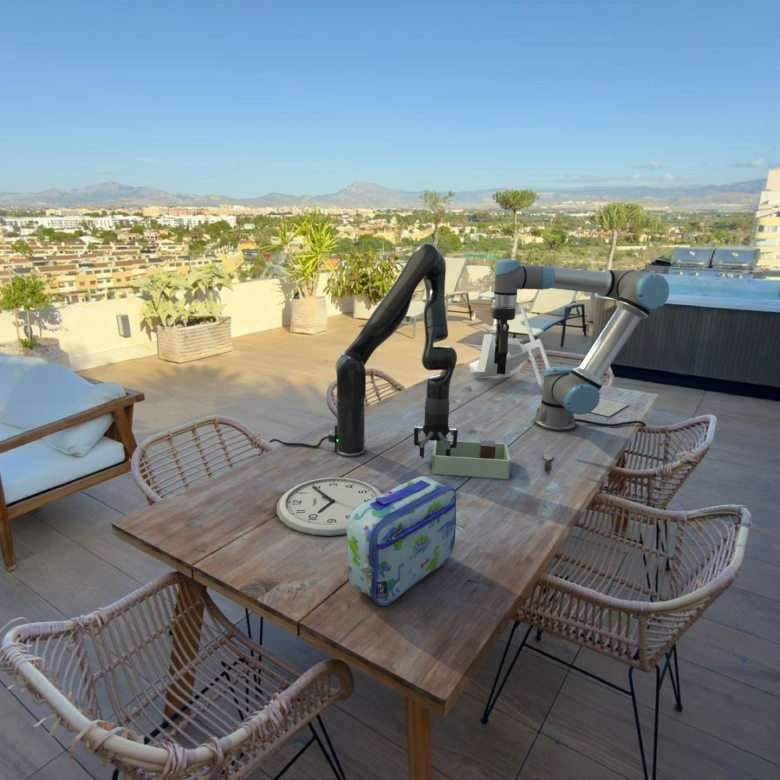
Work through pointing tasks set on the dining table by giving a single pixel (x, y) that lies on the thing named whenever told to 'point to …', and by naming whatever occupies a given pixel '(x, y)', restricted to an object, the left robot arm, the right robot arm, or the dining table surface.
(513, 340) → the white plastic object
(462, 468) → the tote
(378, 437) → the dining table surface
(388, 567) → the lunch box
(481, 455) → the walnut block
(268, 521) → the dining table surface
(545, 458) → the fork
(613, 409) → the invitation card
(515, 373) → the dining table surface
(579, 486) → the dining table surface
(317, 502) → the wall clock
